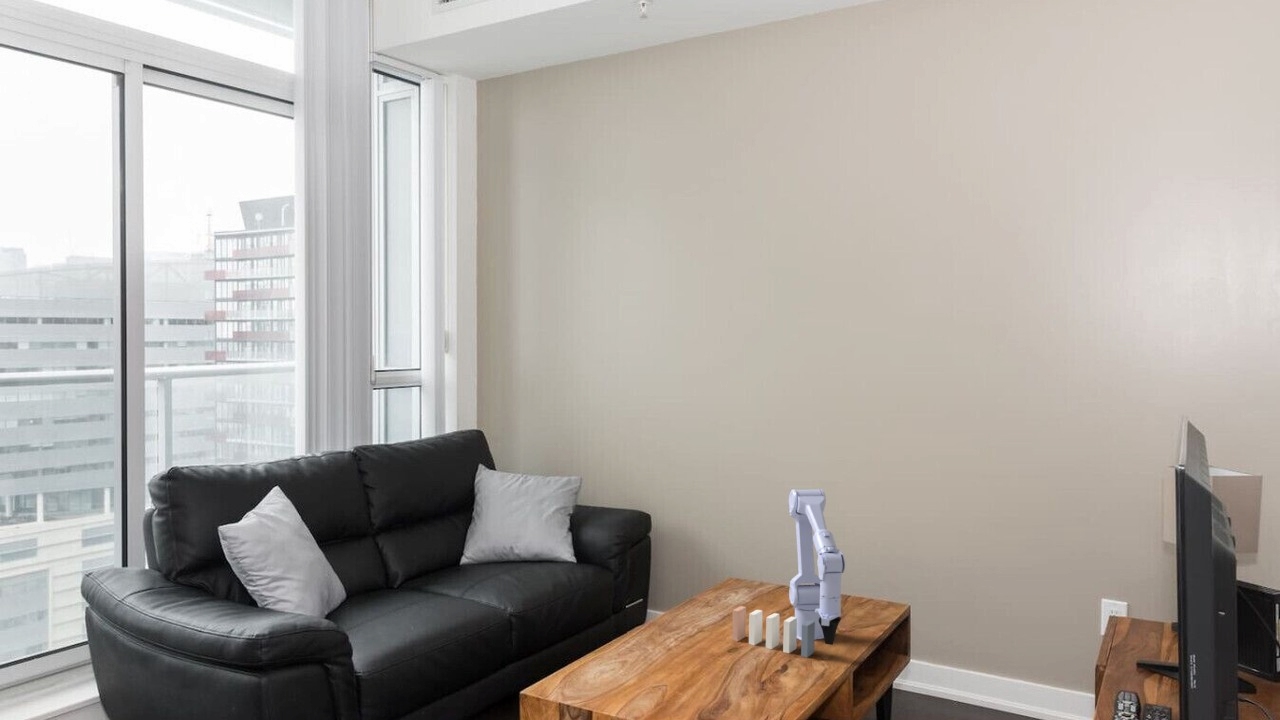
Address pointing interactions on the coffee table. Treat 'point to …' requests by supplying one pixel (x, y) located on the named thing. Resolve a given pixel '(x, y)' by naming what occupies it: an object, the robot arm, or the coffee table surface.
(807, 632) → the domino
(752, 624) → the domino
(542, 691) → the coffee table surface
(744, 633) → the domino
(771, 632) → the domino
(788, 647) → the domino
